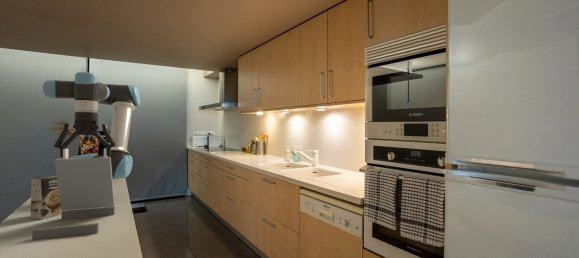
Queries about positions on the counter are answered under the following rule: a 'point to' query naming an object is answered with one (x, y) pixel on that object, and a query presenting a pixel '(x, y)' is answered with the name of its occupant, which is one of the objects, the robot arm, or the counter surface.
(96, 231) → the rails
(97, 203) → the panel
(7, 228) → the counter surface
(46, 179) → the coffee box
